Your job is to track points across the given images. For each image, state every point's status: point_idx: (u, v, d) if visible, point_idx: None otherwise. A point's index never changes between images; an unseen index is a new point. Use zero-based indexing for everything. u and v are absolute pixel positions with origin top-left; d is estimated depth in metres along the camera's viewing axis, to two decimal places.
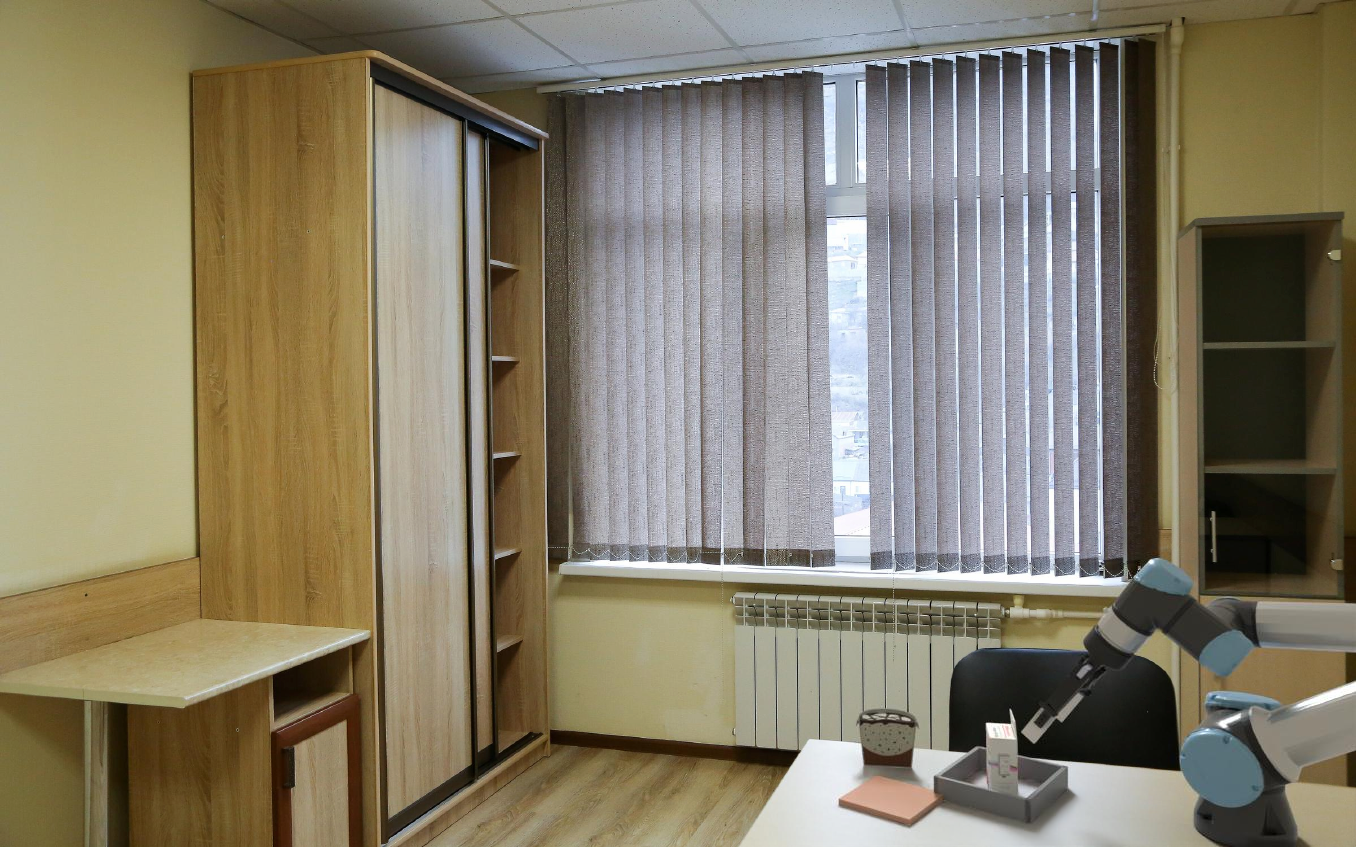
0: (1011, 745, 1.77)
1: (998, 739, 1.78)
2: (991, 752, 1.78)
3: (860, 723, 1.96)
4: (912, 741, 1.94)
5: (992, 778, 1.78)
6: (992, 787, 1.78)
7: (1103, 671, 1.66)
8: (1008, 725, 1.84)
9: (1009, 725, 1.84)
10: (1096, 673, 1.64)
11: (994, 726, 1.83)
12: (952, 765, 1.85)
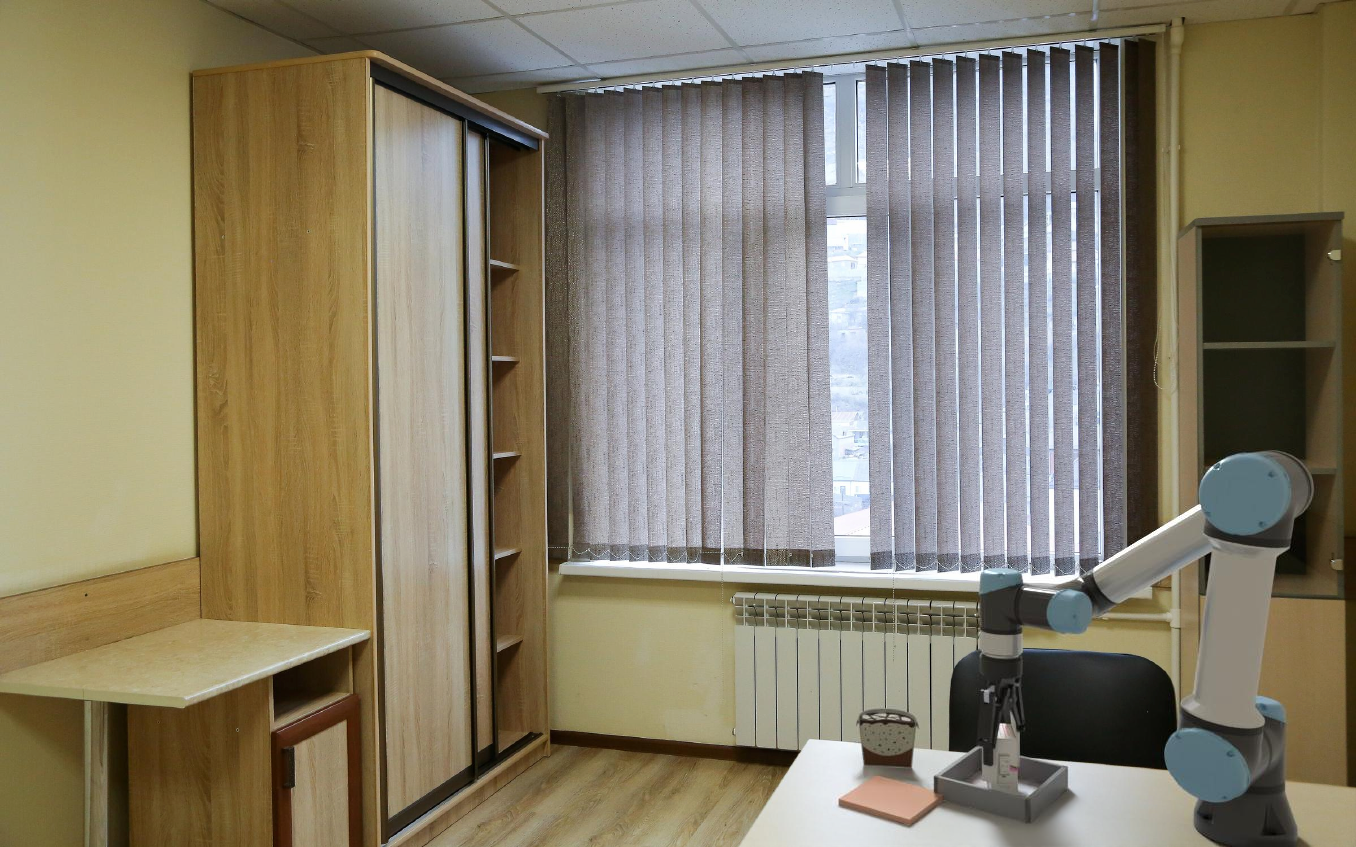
0: (1011, 745, 1.77)
1: (998, 739, 1.78)
2: None
3: (860, 723, 1.96)
4: (912, 741, 1.94)
5: None
6: (992, 787, 1.78)
7: (1011, 686, 1.81)
8: (1008, 725, 1.84)
9: (1009, 725, 1.84)
10: (1003, 691, 1.79)
11: None
12: (952, 765, 1.85)
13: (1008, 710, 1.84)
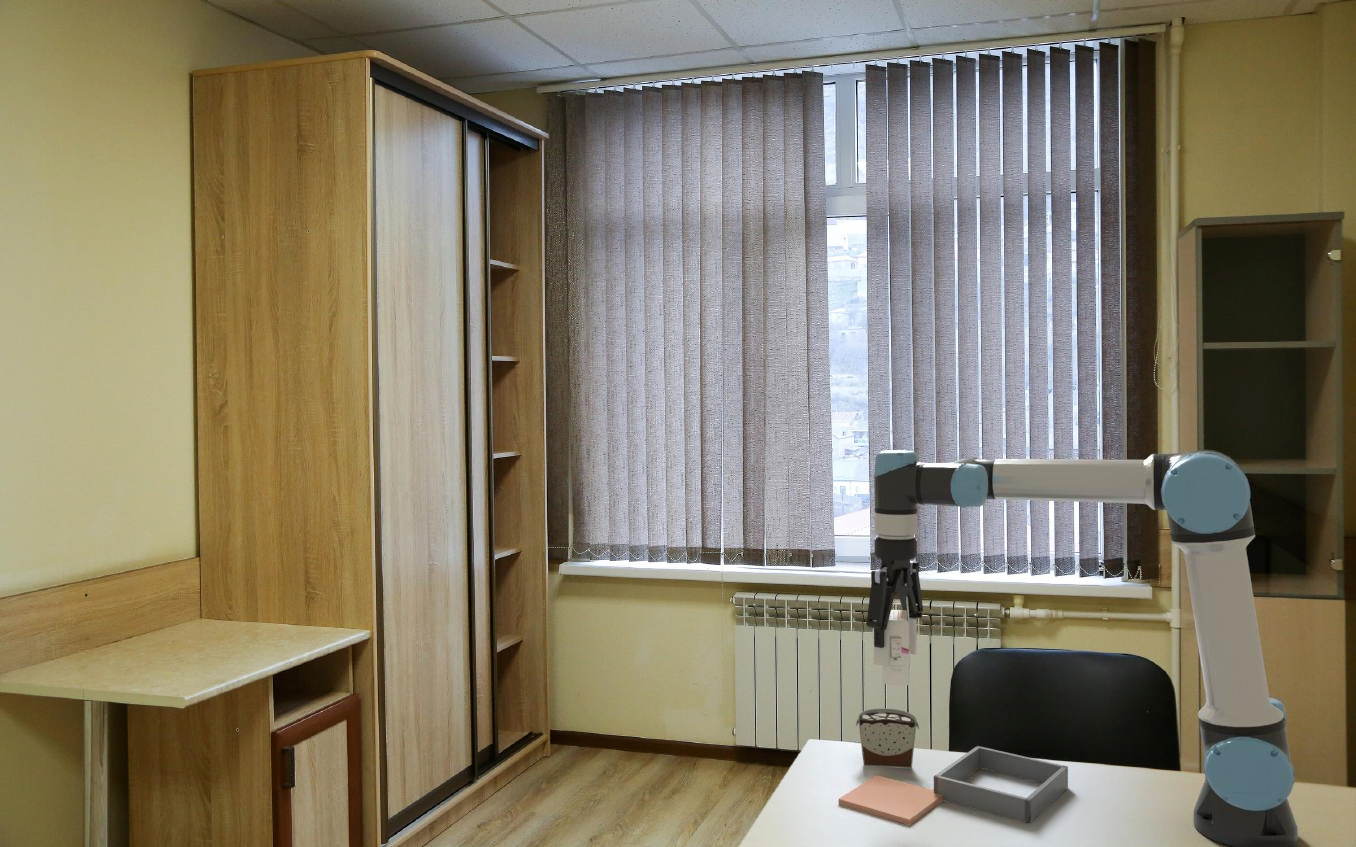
0: (902, 627, 1.74)
1: (890, 621, 1.74)
2: None
3: (860, 723, 1.96)
4: (912, 741, 1.94)
5: None
6: (883, 670, 1.75)
7: (906, 570, 1.77)
8: (904, 611, 1.81)
9: (905, 611, 1.81)
10: (897, 573, 1.75)
11: None
12: (952, 765, 1.85)
13: (904, 596, 1.80)
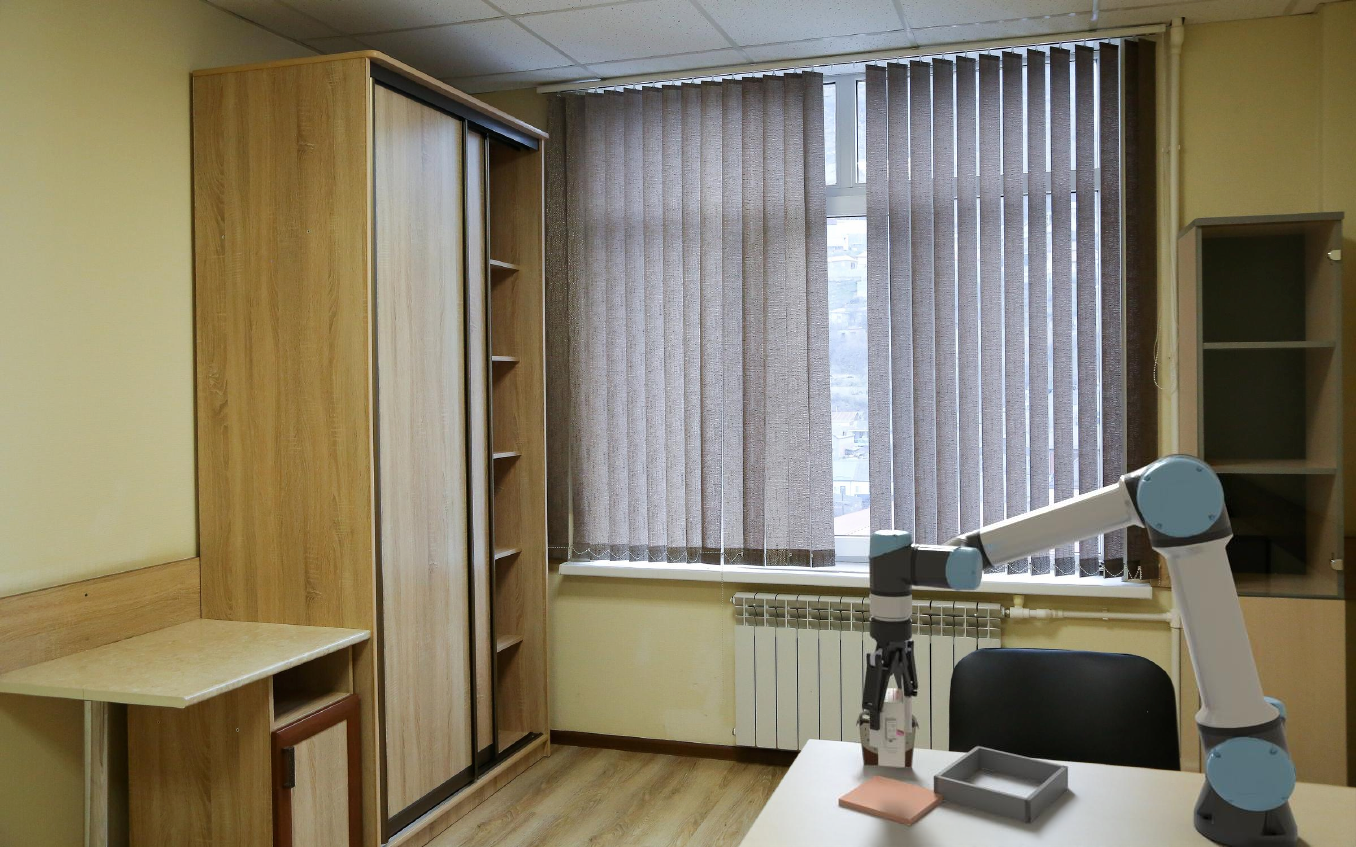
0: (897, 709, 1.74)
1: (885, 702, 1.74)
2: None
3: (860, 723, 1.96)
4: (912, 741, 1.94)
5: None
6: (879, 752, 1.75)
7: (901, 650, 1.77)
8: (899, 690, 1.81)
9: (900, 690, 1.81)
10: (892, 654, 1.76)
11: None
12: (952, 765, 1.85)
13: (899, 675, 1.81)
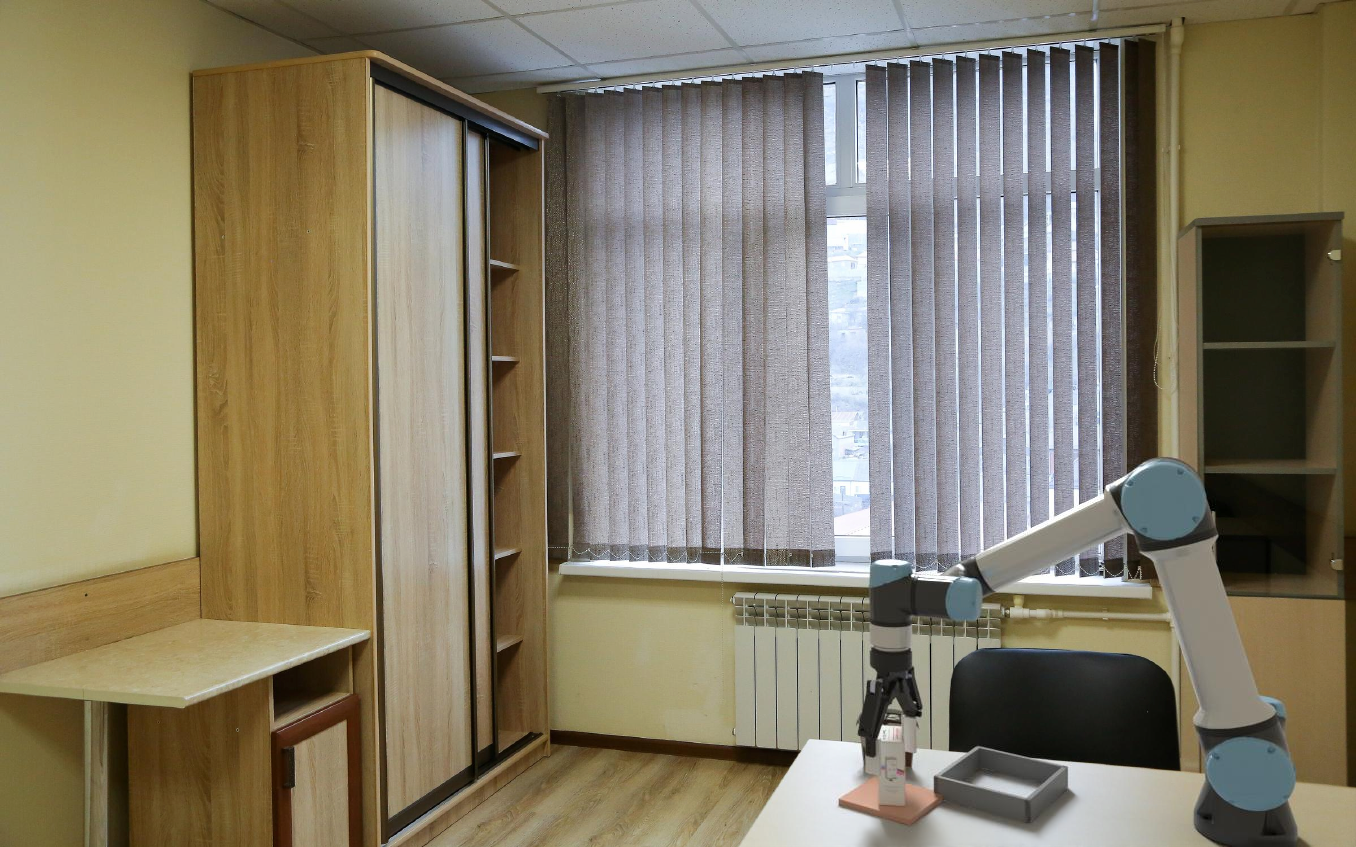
0: (898, 748, 1.74)
1: (885, 742, 1.74)
2: None
3: None
4: None
5: (879, 782, 1.75)
6: (879, 791, 1.75)
7: (901, 680, 1.78)
8: (899, 727, 1.81)
9: (900, 727, 1.81)
10: (892, 684, 1.76)
11: (884, 729, 1.80)
12: (952, 765, 1.85)
13: (902, 700, 1.82)
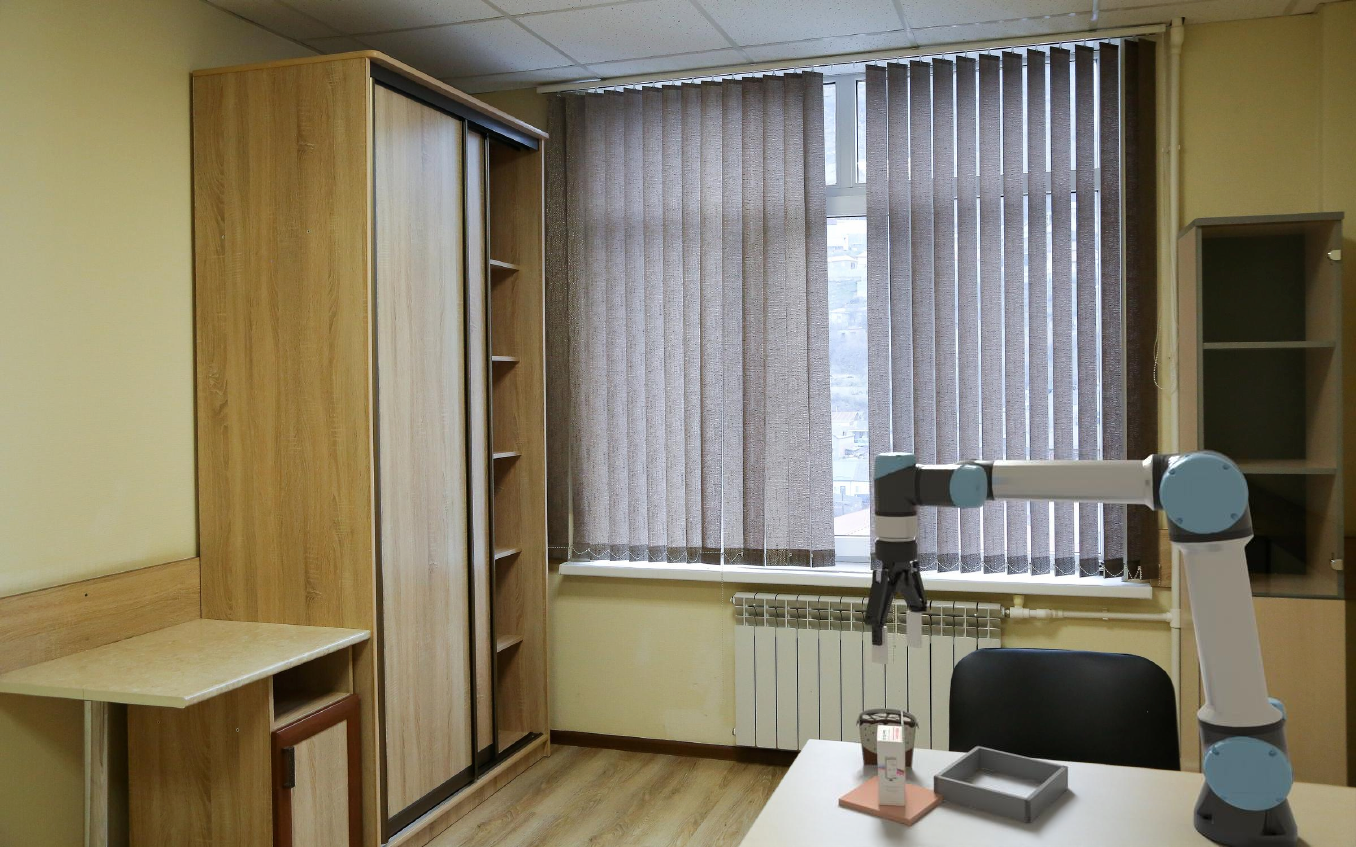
0: (898, 748, 1.74)
1: (885, 742, 1.74)
2: None
3: (860, 723, 1.96)
4: (912, 741, 1.94)
5: (879, 782, 1.75)
6: (879, 791, 1.75)
7: (906, 572, 1.78)
8: (899, 727, 1.81)
9: (900, 727, 1.81)
10: (898, 574, 1.76)
11: (884, 729, 1.80)
12: (952, 765, 1.85)
13: (908, 594, 1.82)
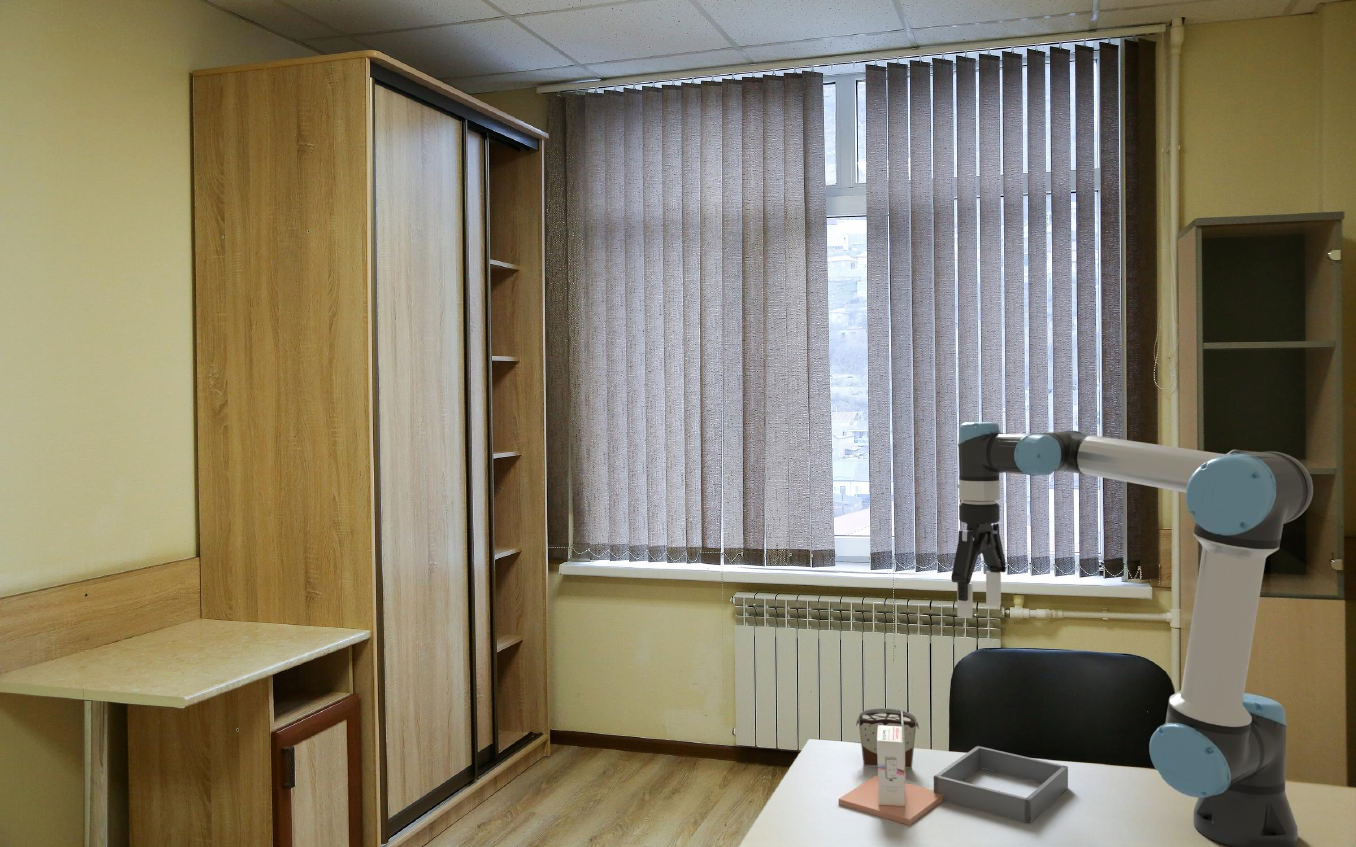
0: (898, 748, 1.74)
1: (885, 742, 1.74)
2: None
3: (860, 723, 1.96)
4: (912, 741, 1.94)
5: (879, 782, 1.75)
6: (879, 791, 1.75)
7: (989, 534, 1.90)
8: (899, 727, 1.81)
9: (900, 727, 1.81)
10: (981, 535, 1.88)
11: (884, 729, 1.80)
12: (952, 765, 1.85)
13: (988, 555, 1.94)
